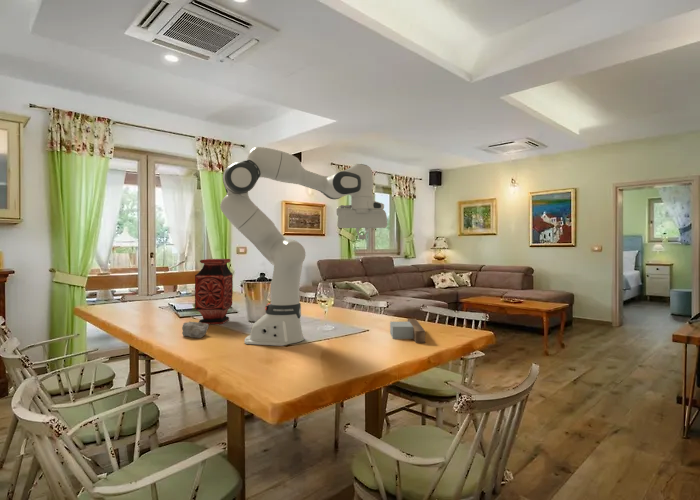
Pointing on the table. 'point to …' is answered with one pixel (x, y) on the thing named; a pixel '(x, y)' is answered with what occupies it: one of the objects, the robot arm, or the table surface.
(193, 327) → the stone
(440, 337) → the table surface
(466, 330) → the table surface
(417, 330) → the dark brown bar
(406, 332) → the block
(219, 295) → the vase
